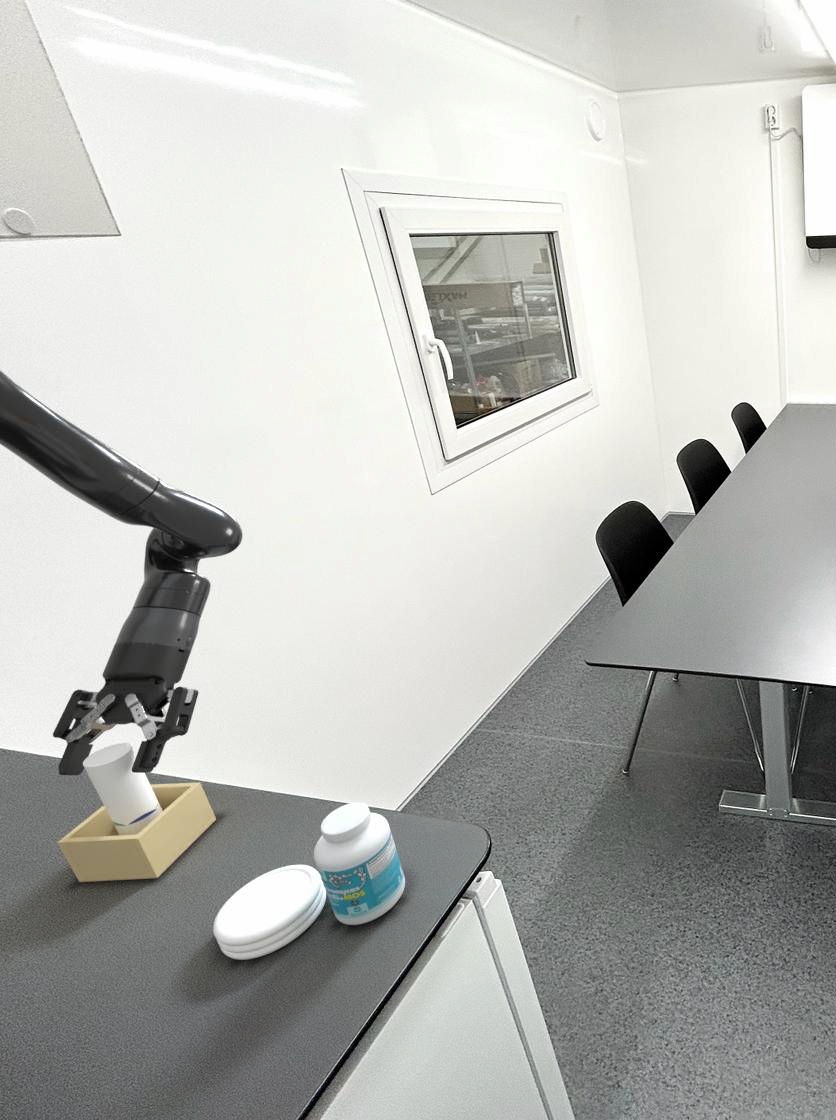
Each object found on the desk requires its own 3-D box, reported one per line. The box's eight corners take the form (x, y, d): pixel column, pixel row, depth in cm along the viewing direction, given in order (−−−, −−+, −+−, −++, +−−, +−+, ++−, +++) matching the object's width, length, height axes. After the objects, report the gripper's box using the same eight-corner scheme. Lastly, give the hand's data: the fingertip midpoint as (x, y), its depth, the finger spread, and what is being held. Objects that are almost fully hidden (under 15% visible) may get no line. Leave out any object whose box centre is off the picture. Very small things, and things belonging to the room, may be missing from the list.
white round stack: (251, 977, 69) (241, 956, 67) (203, 939, 72) (193, 918, 71) (345, 901, 77) (338, 880, 76) (298, 871, 81) (290, 851, 80)
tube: (140, 835, 85) (96, 747, 80) (179, 826, 86) (139, 739, 81) (121, 860, 81) (73, 770, 76) (162, 851, 83) (119, 762, 77)
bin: (79, 882, 79) (56, 842, 77) (146, 822, 88) (128, 785, 86) (157, 878, 80) (137, 838, 77) (216, 819, 89) (200, 782, 86)
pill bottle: (320, 920, 75) (287, 836, 70) (373, 868, 81) (347, 788, 77) (371, 935, 73) (341, 850, 68) (421, 880, 80) (397, 799, 75)
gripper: (71, 641, 81) (11, 775, 74) (186, 638, 82) (138, 770, 75) (125, 653, 88) (75, 777, 81) (231, 650, 89) (190, 772, 82)
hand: (105, 773), depth 78 cm, fingers open, 8 cm apart
